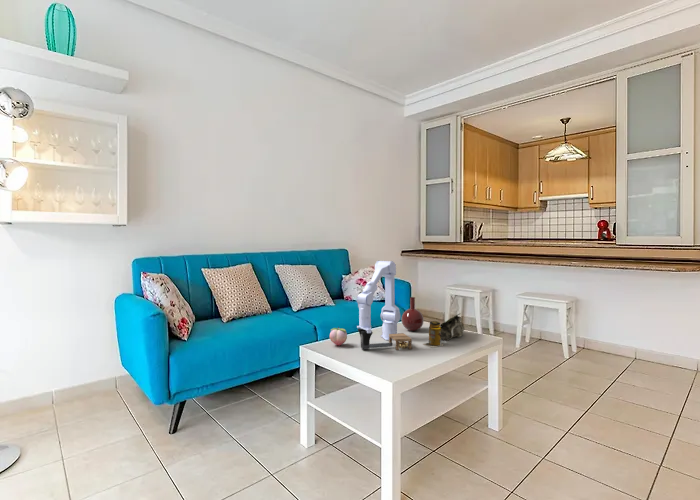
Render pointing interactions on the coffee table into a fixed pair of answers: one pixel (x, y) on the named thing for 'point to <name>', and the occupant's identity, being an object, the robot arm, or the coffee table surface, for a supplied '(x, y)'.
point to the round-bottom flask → (412, 317)
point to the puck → (403, 344)
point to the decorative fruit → (338, 336)
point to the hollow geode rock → (451, 328)
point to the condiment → (434, 335)
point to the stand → (400, 339)
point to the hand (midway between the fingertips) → (365, 344)
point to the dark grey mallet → (374, 344)
